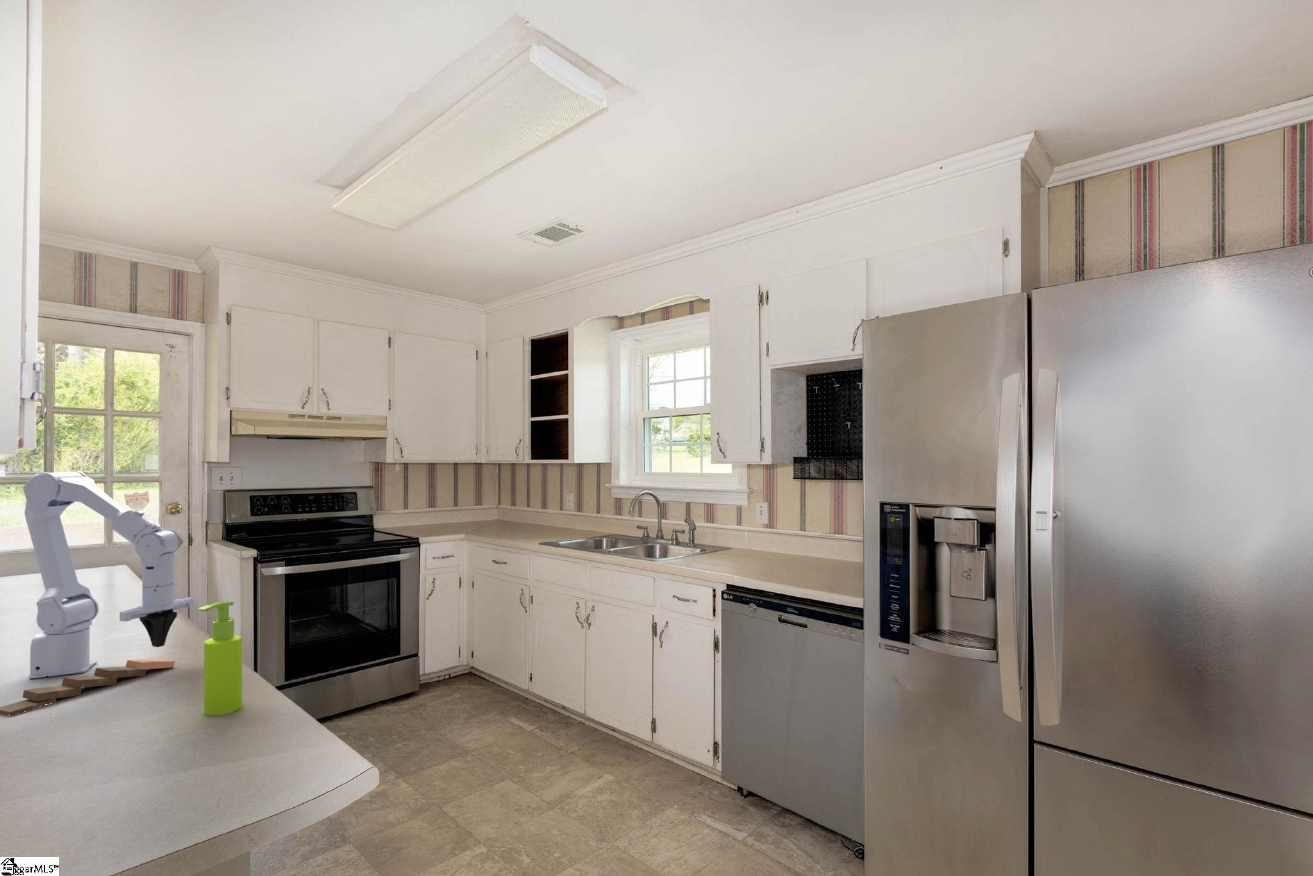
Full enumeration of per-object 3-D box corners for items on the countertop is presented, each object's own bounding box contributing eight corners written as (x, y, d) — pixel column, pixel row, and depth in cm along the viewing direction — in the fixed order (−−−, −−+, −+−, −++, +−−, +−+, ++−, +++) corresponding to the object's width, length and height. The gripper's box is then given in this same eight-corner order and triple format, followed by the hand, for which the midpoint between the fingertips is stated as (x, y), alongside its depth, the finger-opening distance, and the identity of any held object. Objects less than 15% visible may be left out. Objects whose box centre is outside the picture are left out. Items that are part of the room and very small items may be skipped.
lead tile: (173, 667, 148) (140, 669, 141) (158, 665, 150) (125, 666, 143) (175, 660, 148) (142, 662, 142) (160, 658, 150) (127, 660, 144)
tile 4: (80, 695, 131) (36, 701, 125) (66, 691, 133) (22, 697, 127) (81, 687, 132) (38, 693, 125) (67, 684, 134) (24, 690, 127)
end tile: (56, 705, 128) (10, 719, 121) (40, 702, 129) (-6, 716, 123) (56, 698, 128) (10, 712, 121) (40, 695, 129) (-6, 708, 123)
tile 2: (144, 675, 142) (109, 677, 136) (130, 673, 144) (94, 675, 138) (146, 668, 143) (111, 670, 137) (131, 666, 145) (96, 668, 138)
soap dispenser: (191, 714, 121) (191, 605, 121) (230, 701, 127) (230, 597, 128) (209, 720, 118) (209, 608, 119) (248, 706, 124) (248, 600, 125)
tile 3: (115, 684, 137) (77, 687, 131) (100, 681, 139) (61, 684, 133) (117, 677, 138) (79, 680, 131) (102, 674, 139) (63, 677, 133)
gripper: (135, 592, 139) (134, 657, 139) (203, 579, 153) (203, 638, 153) (113, 590, 142) (113, 654, 142) (182, 578, 155) (182, 635, 155)
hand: (158, 646), depth 147 cm, fingers closed
